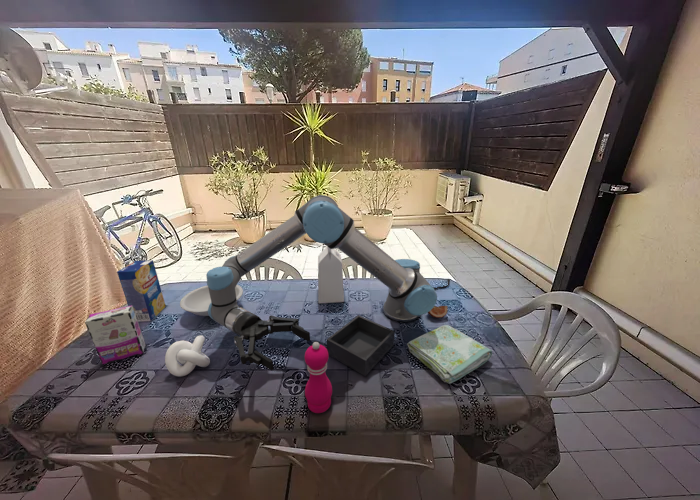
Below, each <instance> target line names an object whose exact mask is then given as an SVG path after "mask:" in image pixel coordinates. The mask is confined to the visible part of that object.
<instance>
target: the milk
mask: <svg viewBox="0 0 700 500" xmlns="http://www.w3.org/2000/svg"><path fill="white" fill-rule="evenodd" d="M317 286H318V287H317V288H318V289H317V292H318V294H317V297H318V301H317V302H318V303H317V304H329V303H331V304H332V303H344V302H345V294H344V293H345V292H344V271H343V260H342V256H341V254H340V252H339V251H338V250H337V249H330V248H329V247H327V246H326V247H325V248H324V249H323V250H322V251H321V252H320V253H319V254H318V256H317Z"/></svg>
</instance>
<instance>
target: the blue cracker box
mask: <svg viewBox="0 0 700 500" xmlns="http://www.w3.org/2000/svg"><path fill="white" fill-rule="evenodd" d="M116 274H117V276H118V280H119V283H120V285H121V289H122V292H123V294H124V297H125V301H126V303H127V306H133V309H134V312H135V315H136V318H137V321H138V323H140V322H151V321H152V322H153V320H154V319H155V318H156V317H157V316H158V315H159V314H160V313H162V312H163V310H164V309H165V308H166V306H167V305H166V302H165V298H164V294H163V291H162V288H161V284H160V281H159V276H158V273H157V270H156V266H155V262H154V260H153V259H149V260H148V259H146V260H134V261H133V262H131V263H129V264H128V265H126V266H124V267H122V268H121V269H119V270H118V271H116Z"/></svg>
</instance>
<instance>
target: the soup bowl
mask: <svg viewBox="0 0 700 500" xmlns="http://www.w3.org/2000/svg"><path fill="white" fill-rule="evenodd" d="M235 292H236V298H237V301H239V300H240V299H241V297H242V296H243V293H244V289H243V287H242V286H240V285H239V284H237V285H236V287H235ZM210 303H211V298H210V293H209V289H208V285H207V284H206V285H203V286H201V287H198V288H195V289H193V290H191V291H189V292H188V293H186V294H185V295H184V296H182V298H181V300H180V301H179V306H180V308H181V309H182V310H183V311H185V312H189V313H191V314H193V315H196V316H200V317H210V316H209V315H208V308H209V305H210Z"/></svg>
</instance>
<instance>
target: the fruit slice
mask: <svg viewBox="0 0 700 500" xmlns="http://www.w3.org/2000/svg"><path fill="white" fill-rule="evenodd" d="M448 309H449V307H448V305H439V306H436V305H435V306H434V307H433V308H432V310H430V311H429V312H428V313H427V314H428V315H429V316H430V317H432V318H435V319H440V318H443V317H445V316H446V315H447V314H448Z"/></svg>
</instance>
